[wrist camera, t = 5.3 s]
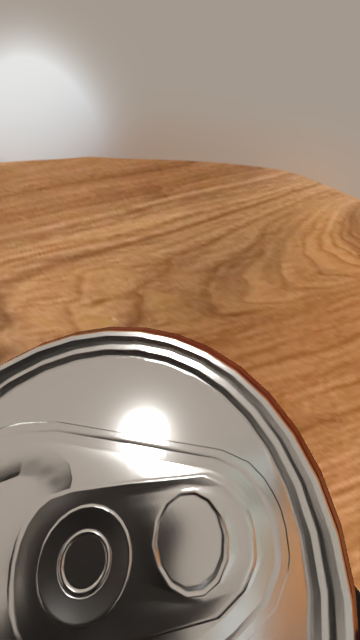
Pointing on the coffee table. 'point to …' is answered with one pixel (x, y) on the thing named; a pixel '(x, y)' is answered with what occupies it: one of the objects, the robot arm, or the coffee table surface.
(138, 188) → the coffee table surface
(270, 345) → the coffee table surface
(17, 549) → the soda can
